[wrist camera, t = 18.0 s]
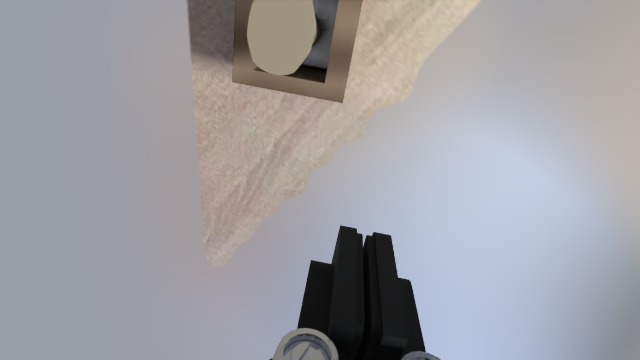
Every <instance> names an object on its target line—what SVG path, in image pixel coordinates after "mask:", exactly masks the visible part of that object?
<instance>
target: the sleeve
mask: <svg viewBox="0 0 640 360" xmlns="http://www.w3.org/2000/svg"><path fill="white" fill-rule="evenodd" d="M362 1H363V0H339V1H338V8H337V14H336V20H335V26H334V32H333V38H332V44H331V50H330V56H329V62H328V68H327V70H322V69H317V68H311V67H306V66H301V65H300V66H299V68H298V69H297V70H296V71H295V72H294V73H291V74H288V75H275V74H271V73H268V72H266V71H264V70H262V69H260V68H259V67H258V66H257V65H256V64H255V63H254V62H253V60H252V56H251V53H250V49H249V44H248V39H247V27H248V21H249V14H250V10H251V6H252V4H253V2H254V0H236V10H235V32H234V54H233V76H232V82H234V83H240V84H245V85H250V86H255V87H261V88H266V89H271V90H277V91H282V92H287V93H293V94H298V95H303V96H308V97H314V98H319V99H324V100H330V101H335V102H340V103H343V98H344V93H345V88H346V83H347V78H348V73H349V67H350V62H351V57H352V52H353V47H354V42H355V37H356V31H357V26H358V21H359V16H360V11H361V6H362Z"/></svg>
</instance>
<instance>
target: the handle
mask: <svg viewBox="0 0 640 360" xmlns="http://www.w3.org/2000/svg"><path fill="white" fill-rule="evenodd" d="M321 33H322V31H321V24H320V21H319V19H318V17H317V16H316V15H315V13H314V7H313V1H312V0H254V2H253V4H252V6H251V10H250V14H249V21H248V27H247V39H248V44H249V49H250V53H251V56H252V60H253V62H254V63H255V64H256V65H257V66H258V67H259V68H260V69H262V70H264V71H266V72H268V73H271V74H275V75H288V74H291V73H294V72H295V71H296V70H297V69H298V68H299V66H300V65H301V64H302V62H303V61H304V60H305V58H306V57H307V55H308V54H309V52H310V50H311V48H312V47H313V46H314V45H315V44H316V43H317V42H318V40H319V38H320V36H321Z"/></svg>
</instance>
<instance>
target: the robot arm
mask: <svg viewBox="0 0 640 360" xmlns="http://www.w3.org/2000/svg"><path fill="white" fill-rule="evenodd" d="M362 239H363V237H362V234H358V233H357V229H356V228H351V227H346V226H340V229H339V233H338V238H337V242H336V246H335V251H334V255H333V259H332V264H327V263H323V262H317V261H313V260H311V263H310V268H309V273H308V278H307V283H306V288H305V292H304V297H303V302H302V307H301V313H300V317H299V322H298V328H297V329H296V330H293V331H291V332H289V333H288V334H286V335H285V336H284V337H283V338H282V340H281V341H280V343H279V344H278V347H277V349H276V351H275V354H274V356H273V358H272V359H270V360H440V359H439V358H438V357H435V356H434V355H431V354H429V353H426V351H425V346H424V341H423V337H422V332H421V328H420V323H419V318H418V313H417V309H416V304H415V299H414V294H413V290H412V286H411V282H410V281H409V280H407V279H402V278H398V276H397V269H396V263H395V257H394V251H393V245H392V239H391V236H390V235H386V234H381V233H376V232H374V233H373V235H372V236H369V235H367V236H366V239H365V242H364V246H363V241H362Z"/></svg>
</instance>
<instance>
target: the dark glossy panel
mask: <svg viewBox="0 0 640 360" xmlns="http://www.w3.org/2000/svg"><path fill="white" fill-rule="evenodd" d="M312 1H313V7H314V13H315V15H316V16H317V17H318V19H319V21H320V24H321V31H322V33H321V36H320V38H319V40H318V42H317V43H316V44H315V45H314V46H313V47H312V48H311V50H310V52H309V54H308V55H307V57H306V58H305V60H304V61H303V62H302V64H304V65H309V66H315V67H320V68H326V69H327V68H328V62H329V56H330V50H331V44H332V38H333V32H334V26H335V20H336V14H337V8H338V1H339V0H312Z"/></svg>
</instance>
